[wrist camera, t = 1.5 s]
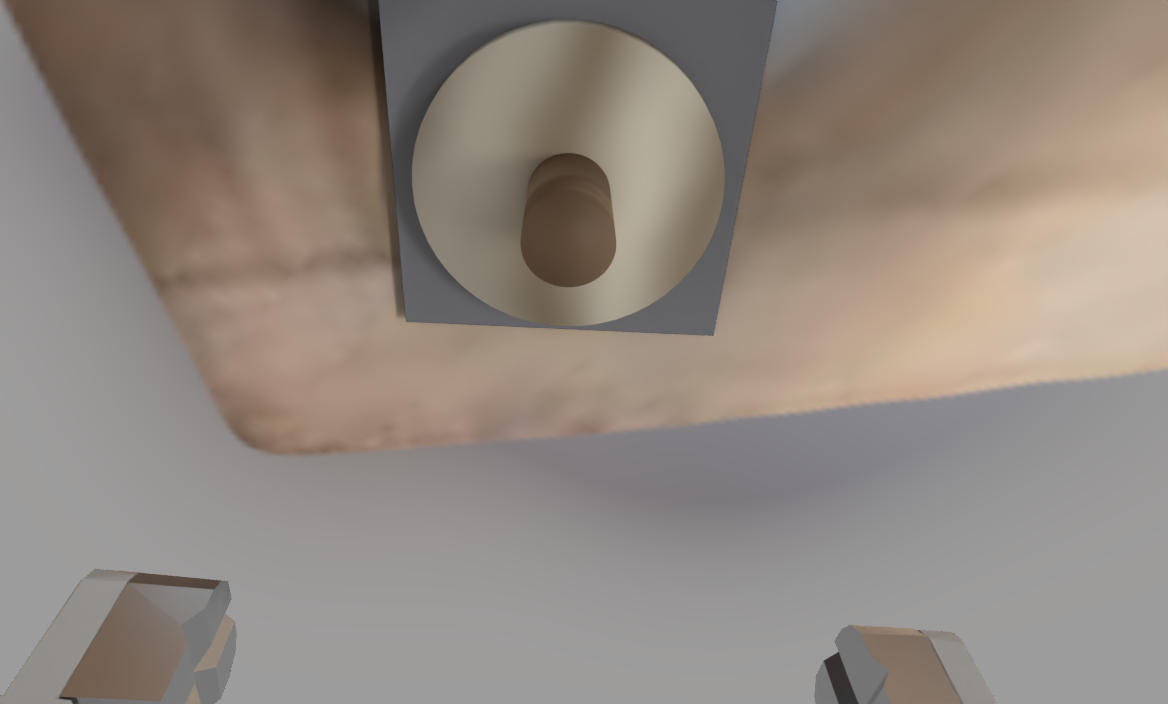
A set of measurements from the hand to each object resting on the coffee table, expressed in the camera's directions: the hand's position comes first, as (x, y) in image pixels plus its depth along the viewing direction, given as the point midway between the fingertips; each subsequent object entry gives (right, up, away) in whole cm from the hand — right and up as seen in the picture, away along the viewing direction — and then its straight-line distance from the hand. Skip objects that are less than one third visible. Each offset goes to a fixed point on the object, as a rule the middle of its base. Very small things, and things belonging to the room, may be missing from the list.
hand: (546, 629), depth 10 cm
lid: (0, +11, +19) cm, 22 cm away
